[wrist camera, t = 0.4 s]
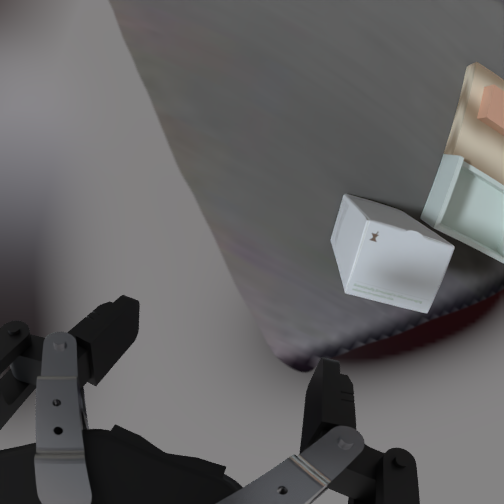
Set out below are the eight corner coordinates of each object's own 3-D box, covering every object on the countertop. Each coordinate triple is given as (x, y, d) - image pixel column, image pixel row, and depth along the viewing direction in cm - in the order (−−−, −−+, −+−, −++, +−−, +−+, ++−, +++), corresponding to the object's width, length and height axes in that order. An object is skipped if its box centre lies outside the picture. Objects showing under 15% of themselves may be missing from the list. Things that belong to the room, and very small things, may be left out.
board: (466, 66, 28) (476, 61, 25) (539, 118, 27) (551, 118, 24) (443, 154, 33) (452, 154, 30) (518, 199, 32) (529, 203, 29)
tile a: (484, 87, 26) (493, 84, 24) (510, 105, 26) (520, 103, 23) (476, 118, 28) (486, 117, 25) (503, 136, 27) (513, 136, 25)
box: (443, 154, 33) (460, 155, 28) (518, 199, 32) (537, 206, 27) (419, 218, 36) (433, 228, 31) (495, 256, 35) (512, 268, 30)
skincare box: (329, 240, 39) (337, 295, 24) (344, 188, 37) (364, 215, 22) (390, 257, 38) (427, 318, 24) (407, 208, 36) (458, 246, 21)
